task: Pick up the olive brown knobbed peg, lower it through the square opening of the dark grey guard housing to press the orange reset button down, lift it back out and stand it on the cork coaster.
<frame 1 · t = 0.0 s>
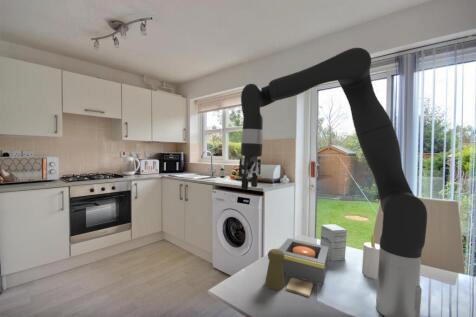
hand: (249, 188, 81), 29 cm above the table, tool pointing down, fingers open, 8 cm apart
candle: (371, 274, 83), on the table
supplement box: (332, 257, 96), on the table
olive brown knobbed peg: (274, 285, 73), on the table
cork coaster: (299, 287, 72), on the table
reset button: (303, 254, 85), point 5 cm above the table, slide at 0.0 cm
guard housing: (302, 268, 85), on the table
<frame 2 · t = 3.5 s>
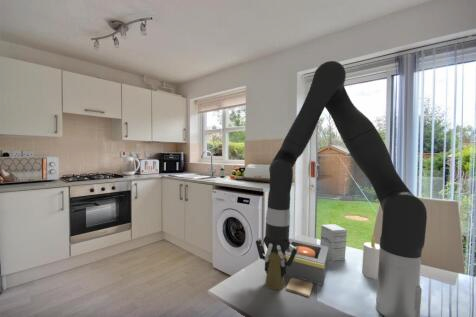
hand: (274, 274, 73), 3 cm above the table, tool pointing down, fingers closed on olive brown knobbed peg, 4 cm apart
olive brown knobbed peg: (274, 285, 73), on the table, touching gripper
everything else where it was.
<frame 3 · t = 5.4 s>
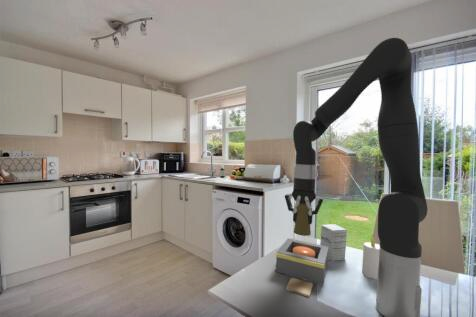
hand: (302, 223, 83), 17 cm above the table, tool pointing down, fingers closed on olive brown knobbed peg, 4 cm apart
olive brown knobbed peg: (302, 233, 83), point 14 cm above the table, touching gripper
everything else where it was.
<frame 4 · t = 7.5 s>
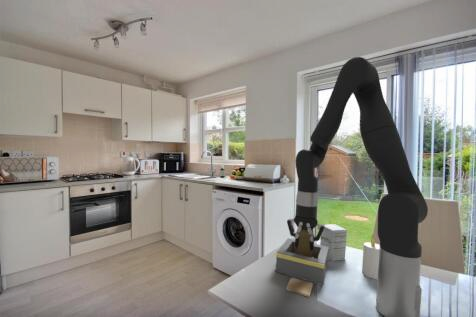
hand: (304, 249, 85), 7 cm above the table, tool pointing down, fingers closed on olive brown knobbed peg, 4 cm apart
olive brown knobbed peg: (303, 258, 85), point 4 cm above the table, touching gripper, reset button
reset button: (303, 261, 85), point 2 cm above the table, slide at 2.6 cm, touching olive brown knobbed peg
everything else where it was.
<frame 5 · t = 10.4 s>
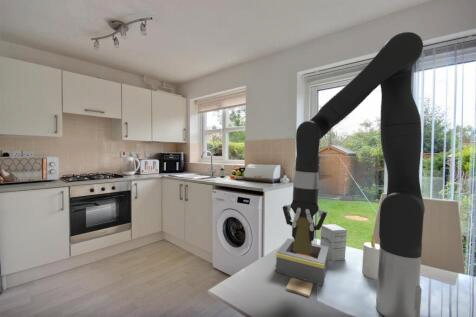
hand: (302, 239, 72), 15 cm above the table, tool pointing down, fingers closed on olive brown knobbed peg, 4 cm apart
olive brown knobbed peg: (302, 250, 72), point 12 cm above the table, touching gripper
reset button: (303, 261, 85), point 2 cm above the table, slide at 2.7 cm
everything else where it was.
when the fingers open (5 cm above the table, at t = 12.5 s): olive brown knobbed peg moves 1 cm, resting on cork coaster.
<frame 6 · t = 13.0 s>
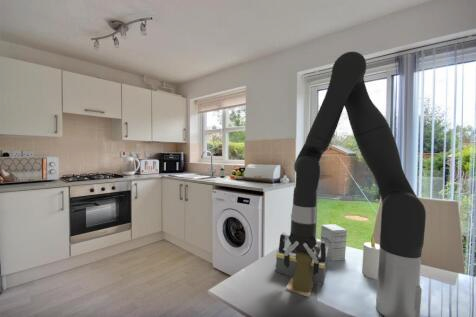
hand: (300, 270, 72), 6 cm above the table, tool pointing down, fingers open, 8 cm apart
olive brown knobbed peg: (302, 287, 72), resting on cork coaster
everything else where it was.
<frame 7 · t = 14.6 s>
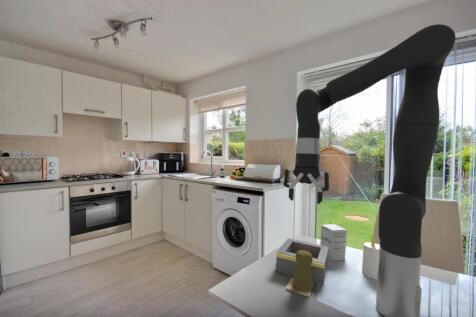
hand: (304, 201, 75), 27 cm above the table, tool pointing down, fingers open, 8 cm apart
nothing on the table moved.
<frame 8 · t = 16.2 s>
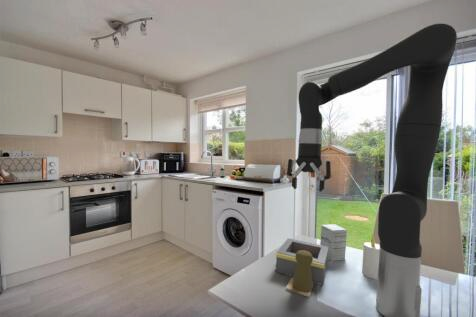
hand: (307, 189, 79), 30 cm above the table, tool pointing down, fingers open, 8 cm apart
nothing on the table moved.
at the end: reset button slide at 2.7 cm; olive brown knobbed peg 0.8 cm from the cork coaster (horizontally); olive brown knobbed peg tilted 0° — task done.
